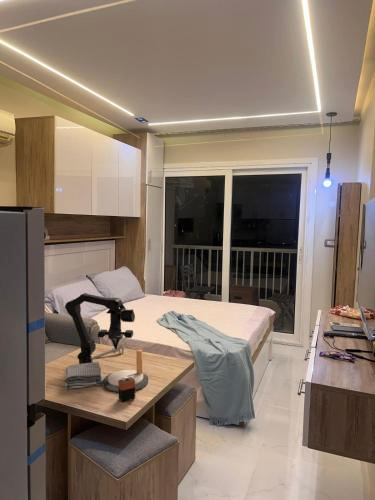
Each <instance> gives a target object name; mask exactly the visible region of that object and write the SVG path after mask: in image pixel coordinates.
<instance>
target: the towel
mask: <svg viewBox="0 0 375 500" xmlns="http://www.w3.org/2000/svg"><path fill="white" fill-rule="evenodd" d="M64 372H65V378H64V382H65V383H64V385H65V390H75V389H76V390H77V389H81V388H88V387H94V386H101V385H102V386H103V379H104V378H103V377H102V374H101V373H102V369H101V366H100V362H99V361H93V362H92V363H84V364H79V363H78V364H77V363H76V364H70V365H69V366H67V367H66V368H65V371H64Z"/></svg>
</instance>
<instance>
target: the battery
mask: <svg viewBox="0 0 375 500" xmlns="http://www.w3.org/2000/svg"><path fill="white" fill-rule="evenodd" d="M118 387H119V393H118V400H120V402H121V403H123V402H127V401H130V400H131V401H132V400H134V399H136V391H135V380H134V379H133V378H132V377H129V378H122V379H121V380H119V381H118Z"/></svg>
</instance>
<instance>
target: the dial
mask: <svg viewBox="0 0 375 500" xmlns="http://www.w3.org/2000/svg"><path fill="white" fill-rule="evenodd" d="M135 354H136V355H135V356H136V358H135V361H136V364H135V365H136V367H135V368H136V369H123V370H122V369H121V370H118V371H115V372H112V374H111V373H110V375H109V374H108V375H109V377H108V382H109V384H111V385H113V386H117V387H118V381H119V380H121V379H122V378H129V377H132V378H133V379H134V380H135V385H137V384H139V383H140V382H142V380H143V374H142V372H143V350H142V349H136V353H135Z"/></svg>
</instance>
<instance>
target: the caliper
mask: <svg viewBox="0 0 375 500" xmlns="http://www.w3.org/2000/svg"><path fill="white" fill-rule="evenodd" d="M124 349H125V348H124V346H123V344H122V343H120V344H118V346H117V349H115V348H114V347H113V348H111V349H109V350H107V351H104V352H101V353H99V354H96V355H94V356H93V355H92V359H93V360H94V359H99V358H100V357H103V356H106V355H109V354H114V353H117V352H118V353H119V354H120V355H121V354H124V353H125V352H124V351H125V350H124Z"/></svg>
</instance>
